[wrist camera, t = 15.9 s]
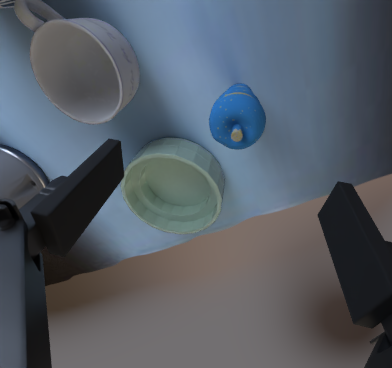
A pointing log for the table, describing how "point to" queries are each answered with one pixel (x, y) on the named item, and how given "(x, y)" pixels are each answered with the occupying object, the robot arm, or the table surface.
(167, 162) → the bowl
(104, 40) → the teacup
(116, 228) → the table surface
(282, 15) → the table surface
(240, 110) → the ornament
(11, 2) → the planter
